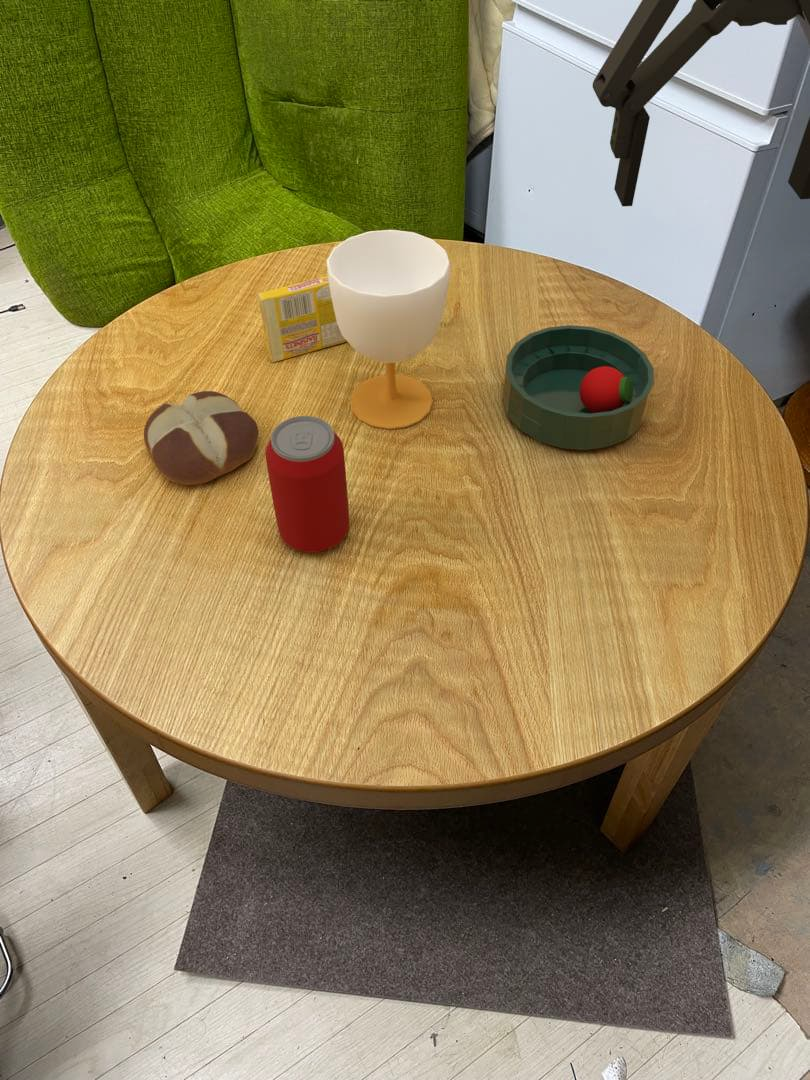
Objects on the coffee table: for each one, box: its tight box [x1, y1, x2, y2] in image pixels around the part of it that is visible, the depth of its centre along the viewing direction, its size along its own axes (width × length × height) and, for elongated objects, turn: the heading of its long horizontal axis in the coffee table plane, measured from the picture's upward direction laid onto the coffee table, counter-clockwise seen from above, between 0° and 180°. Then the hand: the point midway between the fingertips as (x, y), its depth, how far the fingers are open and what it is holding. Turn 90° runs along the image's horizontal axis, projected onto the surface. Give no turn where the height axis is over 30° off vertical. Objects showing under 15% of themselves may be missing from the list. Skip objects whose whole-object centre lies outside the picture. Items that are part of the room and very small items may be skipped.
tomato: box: [579, 366, 633, 413], centre depth 91 cm, size 5×5×5 cm
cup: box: [325, 229, 451, 430], centre depth 88 cm, size 12×12×17 cm
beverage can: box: [264, 415, 350, 553], centre depth 78 cm, size 7×7×12 cm
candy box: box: [257, 275, 348, 363], centre depth 99 cm, size 16×2×8 cm, turn 115°
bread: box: [143, 390, 259, 486], centre depth 88 cm, size 11×11×5 cm
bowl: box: [502, 324, 655, 451], centre depth 92 cm, size 15×15×5 cm
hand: (711, 194), depth 66 cm, fingers open, 13 cm apart
